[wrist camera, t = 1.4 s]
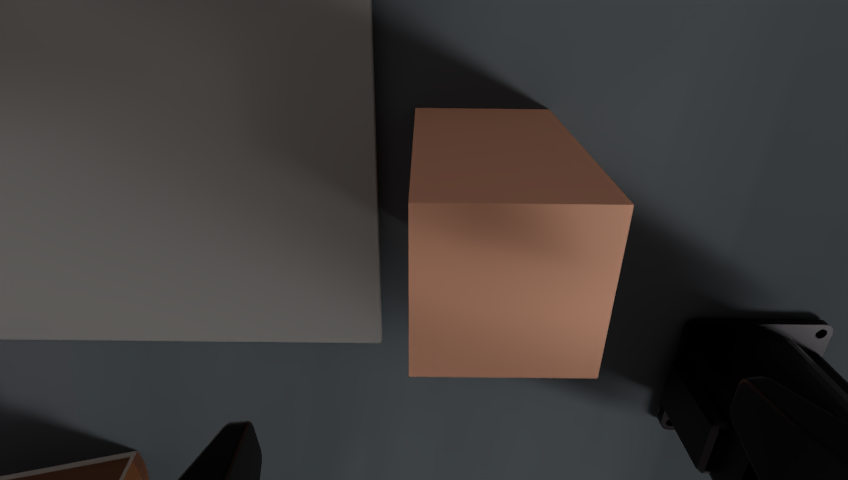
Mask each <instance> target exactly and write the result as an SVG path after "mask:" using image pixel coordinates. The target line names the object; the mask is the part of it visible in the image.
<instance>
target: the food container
mask: <svg viewBox="0 0 848 480" xmlns="http://www.w3.org/2000/svg"><path fill="white" fill-rule="evenodd" d="M0 480H149V476H148V471H147V468H146V465H145V463H144V461H143V459H142V457H141V456H140V454H139V452H138V451H132V452H127V453H122V454H116V455H111V456H106V457H101V458H95V459H90V460H85V461H79V462H74V463H69V464H63V465H58V466H53V467H47V468H42V469H37V470H31V471H26V472H21V473H15V474H10V475H5V476H0Z"/></svg>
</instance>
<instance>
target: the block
mask: <svg viewBox="0 0 848 480" xmlns="http://www.w3.org/2000/svg"><path fill="white" fill-rule="evenodd" d="M633 208H634V204H633V203H632V202H631V201H630V200H629V199H628V197H627V196H626V195H625V194H624V193H623V192H622V191H621V190H620V188H619V187H618V186H617V185H616V184H615V183H614V182H613V181H612V179H611V178H610V177H609V176H608V175H607V174H606V173H605V172H604V170H603V169H602V168H601V167H600V166H599V165H598V164H597V163H596V162H595V160H594V159H593V158H592V157H591V156H590V155H589V154H588V153H587V151H586V150H585V149H584V148H583V147H582V146H581V145H580V144H579V142H578V141H577V140H576V139H575V138H574V137H573V136H572V135H571V133H570V132H569V131H568V130H567V129H566V128H565V127H564V126H563V124H562V123H561V122H560V121H559V120H558V119H557V118H556V117H555V115H554V114H553V113H552V112H551V111H550V110H549V109H471V108H415V120H414V133H413V147H412V160H411V174H410V188H409V201H408V229H409V377H499V378H598V375H599V370H600V365H601V360H602V356H603V351H604V346H605V341H606V336H607V332H608V327H609V322H610V317H611V313H612V308H613V303H614V298H615V294H616V289H617V284H618V279H619V275H620V270H621V265H622V260H623V255H624V251H625V246H626V241H627V236H628V232H629V227H630V222H631V217H632V213H633Z"/></svg>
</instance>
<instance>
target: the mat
mask: <svg viewBox="0 0 848 480" xmlns="http://www.w3.org/2000/svg"><path fill="white" fill-rule="evenodd" d="M0 339H29V340H129V341H230V342H330V343H382V306H381V275H380V244H379V213H378V182H377V150H376V119H375V88H374V57H373V26H372V0H0Z"/></svg>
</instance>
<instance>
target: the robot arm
mask: <svg viewBox="0 0 848 480" xmlns="http://www.w3.org/2000/svg"><path fill="white" fill-rule="evenodd" d="M698 328H700V329H699V330H698V331H696V332H694V331H695V330H696V329H698ZM819 330H820V331H819ZM818 331H819V332H818ZM832 334H833V329H832V327H831V326H830V325H828V324H827V323H826V322H825V321H823V320H807V319H708V318H697V319H692V320H690V321H688V322H687V323H686V324H685V326H684V328H683V332H682V335H681V339H680V342H679V346H678V349H677V353H676V356H675V359H674V361H673V362H672V363H671V365H670V369H669V372H668V376H667V379H666V383H665V386H664V390H663V393H662V397H661V400H660V402H661V407H660V411H659V414H658V420H659V422H660V424H661V426H662V427H663V428H664V429H668V430H676V432H677V434H678V436H679V438H680V440H681V441H682V443H683V445H684V447H685V449H686V451H687V452H688V454H689V456H690V458H691V460H692V462H693V464H694V465H695V467H696V468H697V469H698V470H699V471H700V472H701V473H709V475H710V476H711V478H712V480H848V382H847V381H846V380H844V379H843V378H842V377H841V376H840V375H839V374H838V373H837V372H836V371H835V370H834V369H833V368H832V367H831V366H830V365H829V364H828V363H827V362H826V361H825V360H824V359H823V358H822V356H823V354H824V352H825V350H826V347H827V345H828V343H829V341H830V338H831V336H832ZM669 419H670V420H669ZM261 464H262V454H261V449H260V446H259V442H258V439H257V436H256V433H255V430H254V427H253V424H252V423H251V422H250V421H239V422H230V423H228V424H226V425H225V426H224V427H223V428H222V429H221V430H220V432H219V433H218V434H217V435H216V436H215V437H214V438H213V440H212V441H211V442H210V443H209V444H208V445H207V447H206V448H205V449H204V450H203V451H202V452H201V453H200V455H199V456H198V457H197V458H196V459H195V460H194V462H193V463H192V464H191V465H190V466H189V467H188V468H187V470H186V471H185V472H184V473H183V474H182V475H181V477H180V478H179V479H178V480H260V473H261Z"/></svg>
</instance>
